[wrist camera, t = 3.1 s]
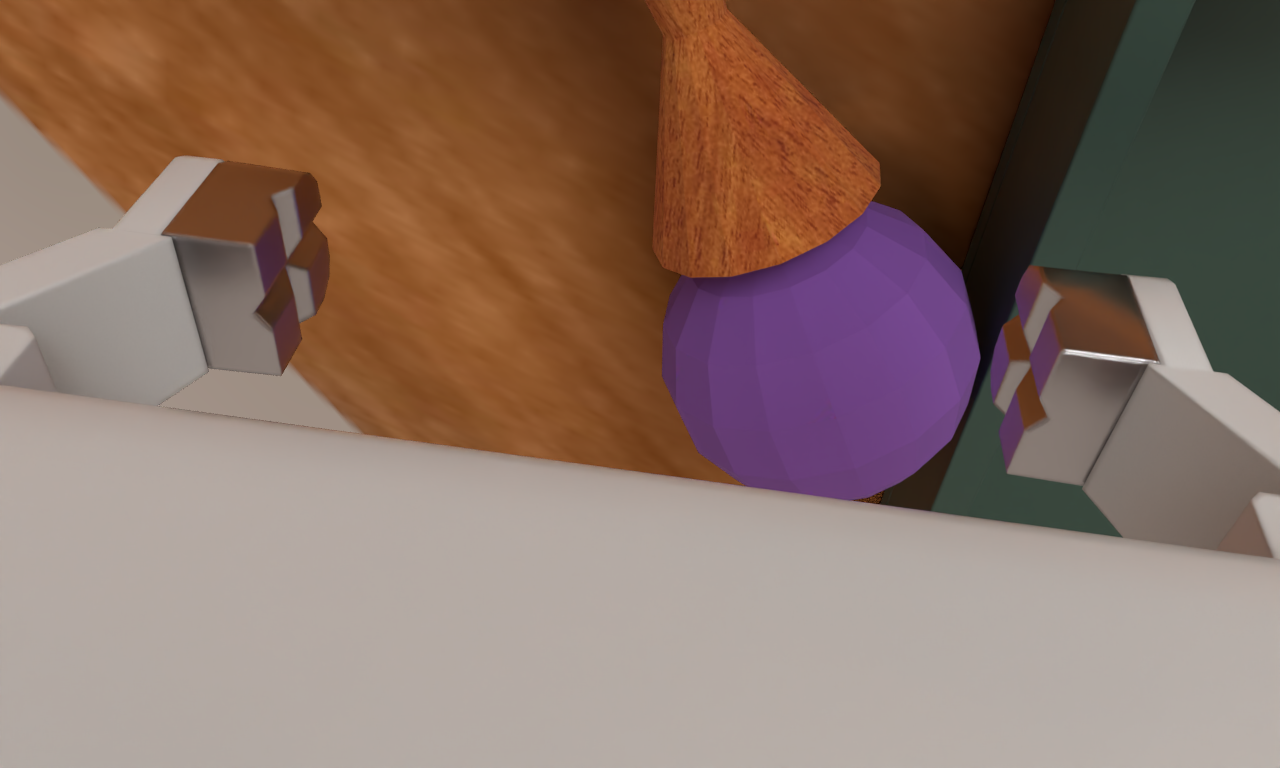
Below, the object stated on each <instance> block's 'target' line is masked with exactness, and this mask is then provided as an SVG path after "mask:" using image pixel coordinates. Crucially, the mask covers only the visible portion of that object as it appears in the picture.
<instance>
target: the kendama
mask: <svg viewBox="0 0 1280 768" xmlns="http://www.w3.org/2000/svg"><path fill="white" fill-rule="evenodd" d="M645 2H646V4H647V6H648V8H649V10H650V12H651V14H652V16H653V18H654V19H655V21H656V23H657V25H658V27H659V29H660V31H661V33H662V35H663V43H662V63H661V84H660V104H659V125H658V145H657V166H656V186H655V207H654V227H653V248H652V249H653V251H654V253H655V255H656V256H657V258H658V260H659V262H660V263H661V265H662V267H663V268H666V269H668V270H671V271H674V272H676V273H679V274H682V275H681V277H680V278H679V280H678V282H677V284H676V286H675V287H674V289H673V291H672V293H671V294H670V297H669V301H668V306H667V310H666V315H665V319H664V323H663V356H662V377H663V379H664V382H665V384H666V386H667V388H668V390H669V392H670V394H671V397H672V399H673V401H674V403H675V405H676V407H677V409H678V411H679V413H680V415H681V418H682V420H683V422H684V424H685V426H686V428H687V430H688V432H689V434H690V436H691V438H692V440H693V442H694V444H695V446H696V449H697V451H698V453H700V454H701V455H703V456H704V457H705V458H707V459H708V460H710V461H711V462H712V463H714V464H715V465H716V466H718V467H719V468H721V469H722V470H723V471H725V472H726V473H728V474H729V475H730V476H732V477H733V478H734V479H736V480H737V481H739V482H741V483H742V484H744V485H746V486H747V487H755V488H762V489H769V490H777V491H784V492H791V493H799V494H806V495H813V496H821V497H828V498H835V499H843V500H856V499H862V498H868V497H870V496H873V495H875V494H877V493H879V492H881V491H883V490H885V489H887V488H890V487H892V486H894V485H896V484H898V483H900V482H902V481H903V480H905V479H906V478H908V477H909V476H911V475H912V474H914V473H915V472H916V471H918V470H919V469H920V468H921V467H922V466H923V465H924V464H925V463H926V462H927V461H929V460H930V459H931V458H932V457H933V456H934V455H935V454H936V453H937V452H938V451H940V450H941V449H942V448H943V447H944V446H945V445H946V444H947V443H948V442H949V441H951V440H952V437H953V435H954V433H955V431H956V429H957V427H958V424H959V422H960V420H961V418H962V416H963V414H964V411H965V409H966V407H967V405H968V402H969V398H970V395H971V391H972V387H973V384H974V380H975V376H976V373H977V369H978V365H979V362H980V358H981V357H980V351H979V345H978V339H977V333H976V326H975V321H974V317H973V313H972V309H971V305H970V302H969V298H968V294H967V290H966V286H965V283H964V279H963V275H962V271H961V270H960V269H959V268H958V267H957V265H956V264H955V263H954V262H953V261H952V260H951V259H950V258H949V257H948V256H947V255H946V254H945V253H944V251H943V250H942V249H941V248H940V247H939V246H938V245H937V244H936V243H935V242H934V241H933V240H932V239H931V237H930V236H929V235H928V234H927V233H926V232H925V231H924V230H923V229H922V228H921V227H919V226H918V225H917V224H916V223H915V222H913V221H912V220H911V219H910V218H909V217H908V216H906V215H905V214H904V213H903V212H902V211H900V210H897V209H894V208H891V207H888V206H885V205H882V204H879V203H876V202H873V201H871V200H872V199H873V197H874V196H875V194H876V193H877V191H878V190H879V188H880V187H881V179H880V163H879V162H878V161H877V160H876V159H875V158H874V157H873V156H872V155H871V154H870V153H869V152H868V151H867V150H866V149H865V148H864V147H863V146H862V145H861V144H860V143H859V142H858V141H857V140H856V139H855V138H854V137H853V136H852V135H851V134H850V133H849V132H848V131H847V130H846V129H845V128H844V127H843V126H842V125H841V124H840V123H839V122H838V120H837V119H836V118H835V117H834V116H833V115H832V114H831V113H830V112H829V111H828V110H827V109H826V108H825V107H824V106H823V105H822V104H821V103H820V102H819V101H818V100H817V99H816V98H815V97H814V96H813V95H812V94H811V93H810V92H809V91H808V90H807V89H806V88H805V87H804V86H803V85H802V84H801V83H800V82H799V81H798V80H797V79H796V78H795V77H794V76H793V75H792V74H791V73H790V72H789V71H788V70H787V69H786V68H785V67H784V66H783V65H782V64H781V63H780V62H779V61H778V60H777V59H776V58H775V57H774V56H773V55H772V54H771V53H770V52H769V51H768V50H767V49H766V48H765V47H764V46H763V45H762V44H761V43H760V42H759V41H758V40H757V38H756V37H755V36H754V35H753V34H752V33H751V32H750V31H749V30H748V29H747V28H746V27H745V26H744V25H743V24H742V23H741V22H740V21H739V20H738V19H737V18H736V17H735V16H734V15H733V14H732V13H731V12H730V11H729V10H728V9H727V7H726V3H725V0H645Z"/></svg>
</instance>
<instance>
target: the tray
mask: <svg viewBox="0 0 1280 768" xmlns="http://www.w3.org/2000/svg"><path fill="white" fill-rule="evenodd" d="M1030 265H1034V266H1043V267H1053V268H1062V269H1072V270H1081V271H1091V272H1100V273H1110V274H1119V275H1121V274H1125V275H1136V276H1147V277H1158V278H1167V279H1169V280H1170V281H1172V282H1173V283H1174V284H1175V285H1176V287H1177V290H1178V292H1179V294H1180V296H1181V299H1182V301H1183V303H1184V305H1185V308H1186V310H1187V312H1188V315H1189V317H1190V319H1191V321H1192V324H1193V326H1194V328H1195V330H1196V333H1197V335H1198V337H1199V340H1200V342H1201V344H1202V346H1203V349H1204V351H1205V353H1206V356H1207V358H1208V360H1209V362H1210V365H1211V367H1212V369H1213V371H1214V372H1220V373H1227V374H1229V375H1230V376H1232V377H1233V378H1234V379H1236V380H1237V381H1238V382H1240V383H1241V384H1242V385H1244V386H1245V387H1247V388H1248V389H1249V390H1251V391H1252V392H1253V393H1255V394H1256V395H1257V396H1259V397H1260V398H1261V399H1263V400H1264V401H1266V402H1267V403H1268V404H1270V405H1271V406H1272V407H1274V408H1275V409H1276V410H1278V411H1279V412H1280V0H1056V1H1055V4H1054V7H1053V10H1052V13H1051V16H1050V18H1049V21H1048V24H1047V27H1046V30H1045V33H1044V36H1043V39H1042V41H1041V44H1040V47H1039V50H1038V53H1037V56H1036V59H1035V61H1034V64H1033V67H1032V70H1031V73H1030V76H1029V79H1028V82H1027V84H1026V87H1025V90H1024V93H1023V96H1022V99H1021V102H1020V104H1019V107H1018V110H1017V113H1016V116H1015V119H1014V122H1013V124H1012V127H1011V130H1010V133H1009V136H1008V139H1007V142H1006V145H1005V147H1004V150H1003V153H1002V156H1001V159H1000V162H999V165H998V167H997V170H996V173H995V176H994V179H993V182H992V185H991V188H990V190H989V193H988V196H987V199H986V202H985V205H984V208H983V210H982V213H981V216H980V219H979V222H978V225H977V228H976V231H975V233H974V236H973V239H972V242H971V245H970V248H969V251H968V253H967V256H966V259H965V262H964V265H963V268H962V275H963V279H964V283H965V286H966V290H967V294H968V298H969V302H970V305H971V309H972V313H973V317H974V321H975V326H976V333H977V339H978V345H979V351H980V357H981V358H980V362H979V365H978V369H977V373H976V376H975V380H974V384H973V387H972V391H971V395H970V398H969V402H968V405H967V407H966V409H965V411H964V414H963V416H962V418H961V420H960V422H959V424H958V427H957V429H956V431H955V433H954V435H953V437H952V440H951V441H949V442H948V443H947V444H946V445H945V446H944V447H943V448H942V449H941V450H940V451H938V452H937V453H936V454H935V455H934V456H933V457H932V458H931V459H930V460H929V461H927V462H926V463H925V464H924V465H923V466H922V467H921V468H920V469H919V470H918V471H916V472H915V473H914V474H912V475H911V476H909V477H908V478H906V479H905V480H903V481H902V482H900V483H898V484H896V485H894V486H892V487H890V488H887V489H885V491H884V494H883V497H882V500H881V503H880V505H887V506H894V507H902V508H909V509H916V510H924V511H931V512H938V513H946V514H953V515H960V516H968V517H975V518H982V519H990V520H997V521H1004V522H1012V523H1019V524H1027V525H1034V526H1041V527H1049V528H1056V529H1063V530H1071V531H1078V532H1085V533H1093V534H1100V535H1107V536H1114V537H1122V536H1121V534H1120V533H1119V532H1118V531H1117V530H1116V528H1115V527H1114V526H1113V525H1112V524H1111V523H1110V521H1109V520H1108V519H1107V518H1106V517H1105V516H1104V514H1103V513H1102V512H1101V511H1100V510H1099V509H1098V507H1097V506H1096V505H1095V504H1094V503H1093V501H1092V500H1091V499H1090V498H1089V497H1088V496H1087V494H1086V493H1085V492H1084V491H1083V490H1082V488H1083V486H1080V485H1074V484H1068V483H1061V482H1055V481H1049V480H1043V479H1036V478H1030V477H1024V476H1018V475H1011V474H1007V473H1006V467H1005V462H1004V457H1003V452H1002V447H1001V442H1000V437H999V432H998V431H999V429H1000V426H1001V424H1002V422H1003V419H1004V417H1005V415H1004V414H1003V413H1002V412H1001V411H1000V410H999V409H998V408H997V407H996V406H995V405H994V404H993V400H992V394H991V374H990V371H991V366H992V360H993V354H994V348H995V346H996V343H997V340H998V337H999V334H1000V332H1001V329H1002V326H1003V325H1004V324H1006V323H1007V322H1008V321H1010V320H1011V319H1013V318H1014V317H1016V316H1017V315H1019V311H1018V307H1017V302H1016V298H1015V293H1016V290H1017V288H1018V285H1019V283H1020V281H1021V278H1022V276H1023V274H1024V273H1025V272H1026V270H1027V269H1028V267H1029V266H1030ZM1122 538H1123V537H1122Z"/></svg>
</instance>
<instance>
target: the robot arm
mask: <svg viewBox="0 0 1280 768" xmlns="http://www.w3.org/2000/svg"><path fill="white" fill-rule="evenodd" d="M321 207H322V204H321V199H320V194H319V189H318V183H317V181H316V180H315V178H314V177H313V176H312V175H311V174H310V173H308V172H301V171H294V170H287V169H280V168H274V167H267V166H260V165H253V164H246V163H240V162H233V161H223V160H221V159H212V158H204V157H195V156H180V157H175V158H174V159H173V160H172V162H171V163H170V164H169V165H168V166H167V167H166V168H165V169H164V171H163V172H162V173H161V174H160V175H159V176H158V177H157V179H156V180H155V181H154V182H153V183H152V184H151V185H150V186H149V188H148V189H147V190H146V191H145V192H144V193H143V194H142V195H141V197H140V198H139V199H138V200H137V201H136V202H135V203H134V205H133V206H132V207H131V208H130V209H129V210H128V211H127V212H126V214H125V215H124V216H123V217H122V218H121V219H120V220H119V222H118V223H117V224H116V225H115V226H114V227H113V228H112V229H108V228H100V227H99V228H96V229H93V230H91V231H88V232H85V233H83V234H80V235H78V236H75V237H72V238H70V239H67V240H64V241H62V242H59V243H57V244H54V245H51V246H49V247H46V248H43V249H41V250H38V251H36V252H33V253H30V254H28V255H25V256H22V257H20V258H17V259H15V260H12V261H9V262H7V263H4V264H1V265H0V768H1280V412H1279V411H1278V410H1276V409H1275V408H1274V407H1272V406H1271V405H1270V404H1268V403H1267V402H1266V401H1264V400H1263V399H1261V398H1260V397H1259V396H1257V395H1256V394H1255V393H1253V392H1252V391H1251V390H1249V389H1248V388H1247V387H1245V386H1244V385H1242V384H1241V383H1240V382H1238V381H1237V380H1236V379H1234V378H1233V377H1232V376H1230V375H1229V374H1227V373H1220V372H1214V371H1213V369H1212V367H1211V365H1210V362H1209V360H1208V358H1207V356H1206V353H1205V351H1204V349H1203V346H1202V344H1201V342H1200V340H1199V337H1198V335H1197V333H1196V330H1195V328H1194V326H1193V324H1192V321H1191V319H1190V317H1189V315H1188V312H1187V310H1186V308H1185V305H1184V303H1183V301H1182V299H1181V296H1180V294H1179V292H1178V290H1177V287H1176V285H1175V284H1174V283H1173V282H1172V281H1170V280H1169V279H1167V278H1158V277H1147V276H1136V275H1125V274H1121V275H1119V274H1110V273H1100V272H1091V271H1081V270H1072V269H1062V268H1053V267H1043V266H1034V265H1030V266H1029V267H1028V269H1027V270H1026V272H1025V273H1024V274H1023V276H1022V278H1021V281H1020V283H1019V285H1018V288H1017V290H1016V293H1015V298H1016V302H1017V307H1018V311H1019V315H1017V316H1016V317H1014V318H1013V319H1011V320H1010V321H1008V322H1007V323H1006V324H1004V325H1003V326H1002V329H1001V332H1000V334H999V337H998V340H997V343H996V346H995V348H994V354H993V360H992V366H991V371H990V374H991V394H992V400H993V404H994V405H995V406H996V407H997V408H998V409H999V410H1000V411H1001V412H1002V413H1003V414H1004V415H1005V417H1004V419H1003V422H1002V424H1001V426H1000V429H999V431H998V432H999V437H1000V442H1001V447H1002V452H1003V457H1004V462H1005V467H1006V473H1007V474H1011V475H1018V476H1024V477H1030V478H1036V479H1043V480H1049V481H1055V482H1061V483H1068V484H1074V485H1080V486H1083V488H1082V490H1083V491H1084V492H1085V493H1086V494H1087V496H1088V497H1089V498H1090V499H1091V500H1092V501H1093V503H1094V504H1095V505H1096V506H1097V507H1098V509H1099V510H1100V511H1101V512H1102V513H1103V514H1104V516H1105V517H1106V518H1107V519H1108V520H1109V521H1110V523H1111V524H1112V525H1113V526H1114V527H1115V528H1116V530H1117V531H1118V532H1119V533H1120V534H1121V536H1122V537H1123V538H1122V537H1114V536H1107V535H1100V534H1093V533H1085V532H1078V531H1071V530H1063V529H1056V528H1049V527H1041V526H1034V525H1027V524H1019V523H1012V522H1004V521H997V520H990V519H982V518H975V517H968V516H960V515H953V514H946V513H938V512H931V511H924V510H916V509H909V508H902V507H894V506H887V505H880V504H872V503H865V502H857V501H850V500H843V499H835V498H828V497H821V496H813V495H806V494H799V493H791V492H784V491H777V490H769V489H762V488H755V487H747V486H740V485H733V484H725V483H718V482H711V481H703V480H696V479H689V478H681V477H674V476H667V475H659V474H652V473H645V472H637V471H630V470H623V469H615V468H608V467H601V466H593V465H586V464H579V463H571V462H564V461H557V460H549V459H542V458H535V457H527V456H520V455H513V454H505V453H498V452H491V451H483V450H476V449H469V448H461V447H454V446H447V445H439V444H432V443H425V442H417V441H410V440H403V439H395V438H388V437H381V436H373V435H366V434H359V433H351V432H344V431H337V430H329V429H322V428H315V427H307V426H299V425H293V424H285V423H278V422H271V421H263V420H256V419H248V418H241V417H234V416H227V415H219V414H212V413H204V412H198V411H190V410H182V409H176V408H168V407H161V406H158V405H160V404H161V403H163V402H164V401H165V400H167V399H169V398H170V397H172V396H173V395H175V394H176V393H178V392H179V391H181V390H182V389H184V388H185V387H187V386H188V385H190V384H191V383H193V382H194V381H196V380H197V379H199V378H200V377H202V376H203V375H205V374H206V373H208V372H209V370H208V368H211V369H219V370H229V371H238V372H247V373H257V374H266V375H276V376H281V375H282V374H283V372H284V370H285V368H286V367H287V365H288V363H289V361H290V360H291V358H292V356H293V354H294V353H295V351H296V349H297V347H298V346H299V344H300V342H301V340H302V335H301V330H300V324H299V323H301V322H303V321H305V320H307V319H309V318H311V317H312V316H314V315H316V313H317V311H318V310H319V308H320V306H321V304H322V302H323V300H324V298H325V293H326V289H327V284H328V280H329V274H330V255H329V248H328V241H327V238H326V237H325V236H324V234H323V233H322V232H321V231H320V230H319V229H318V228H317V226H316V225H315V224H314V223H313V220H314V218H315V217H316V215H317V213H318V212H319V210H320V209H321Z"/></svg>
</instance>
